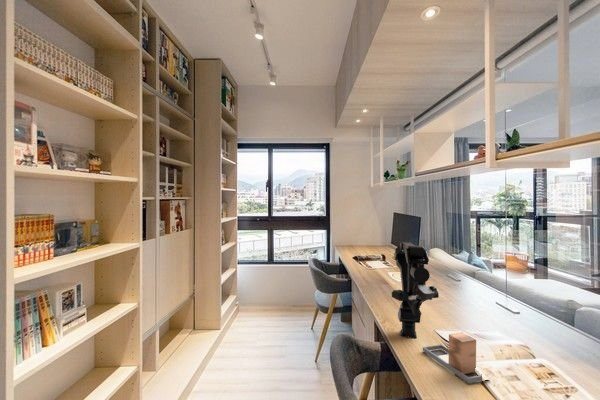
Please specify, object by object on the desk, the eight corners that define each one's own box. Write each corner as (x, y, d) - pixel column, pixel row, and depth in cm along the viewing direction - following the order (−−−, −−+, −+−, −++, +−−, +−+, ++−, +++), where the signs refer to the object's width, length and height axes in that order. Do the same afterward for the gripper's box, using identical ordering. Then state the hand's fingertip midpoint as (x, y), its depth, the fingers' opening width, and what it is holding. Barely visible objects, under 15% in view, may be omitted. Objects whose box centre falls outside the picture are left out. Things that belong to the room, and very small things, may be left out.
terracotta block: (448, 365, 108) (448, 334, 108) (462, 362, 110) (462, 332, 110) (461, 374, 102) (462, 341, 102) (475, 371, 104) (476, 339, 104)
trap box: (422, 352, 119) (422, 347, 119) (441, 349, 122) (441, 344, 122) (468, 384, 98) (468, 378, 98) (489, 380, 100) (490, 374, 100)
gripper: (408, 282, 113) (408, 325, 112) (449, 279, 118) (448, 320, 118) (391, 276, 123) (390, 314, 123) (429, 273, 129) (428, 310, 128)
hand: (415, 315), depth 123 cm, fingers closed
